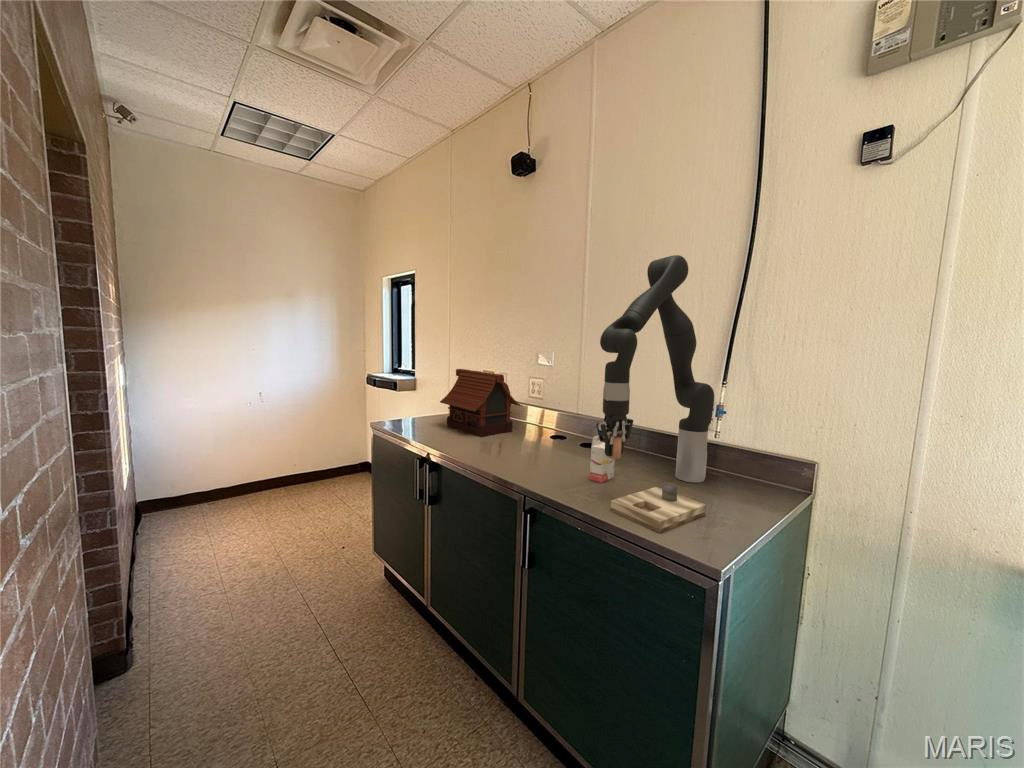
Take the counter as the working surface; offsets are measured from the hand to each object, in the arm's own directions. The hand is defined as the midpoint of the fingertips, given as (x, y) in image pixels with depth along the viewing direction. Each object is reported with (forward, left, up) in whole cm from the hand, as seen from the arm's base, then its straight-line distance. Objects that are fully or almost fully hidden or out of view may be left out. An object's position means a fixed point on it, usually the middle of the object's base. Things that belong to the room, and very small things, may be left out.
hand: (614, 454), depth 128 cm
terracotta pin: (0, 0, -1) cm, 1 cm away
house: (-12, -99, -13) cm, 101 cm away
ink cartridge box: (-10, -13, -13) cm, 21 cm away
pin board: (-2, +15, -13) cm, 20 cm away
